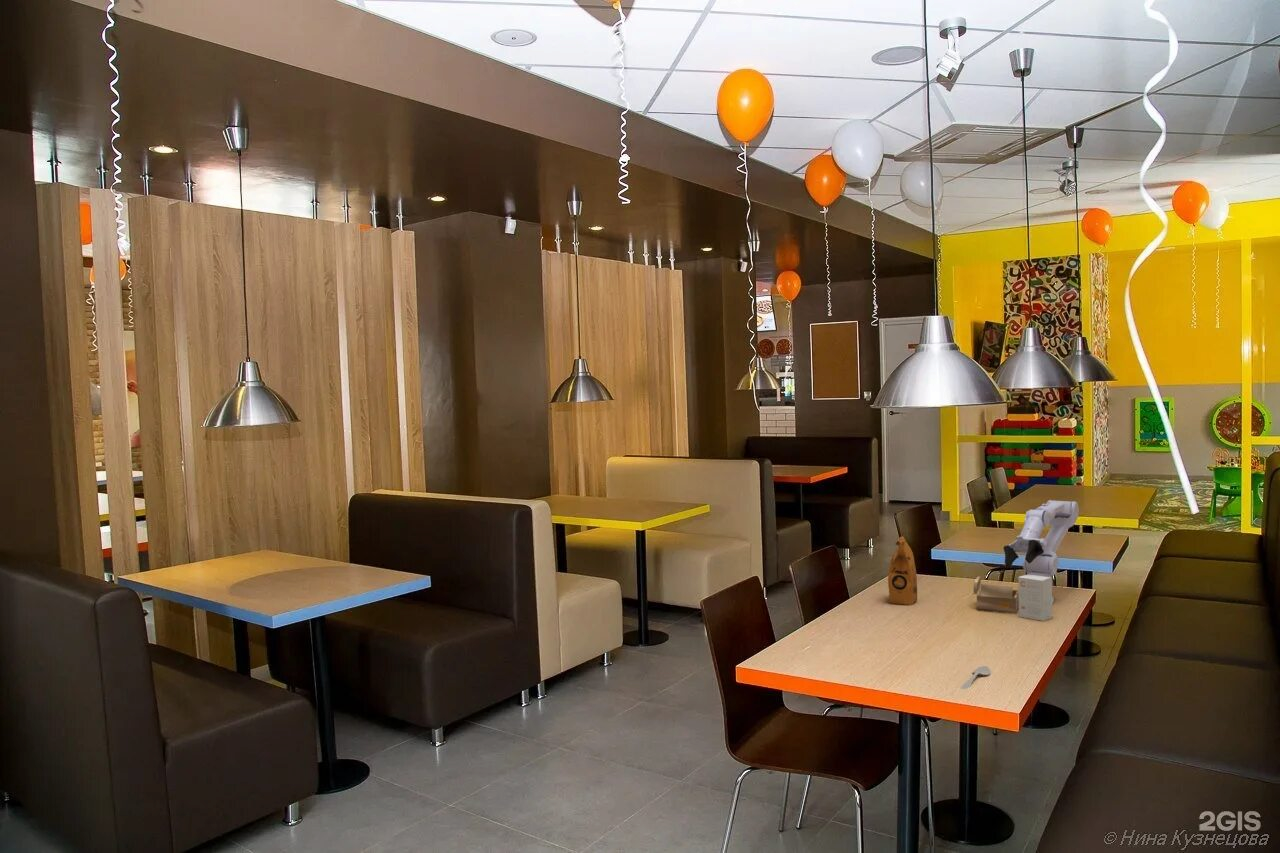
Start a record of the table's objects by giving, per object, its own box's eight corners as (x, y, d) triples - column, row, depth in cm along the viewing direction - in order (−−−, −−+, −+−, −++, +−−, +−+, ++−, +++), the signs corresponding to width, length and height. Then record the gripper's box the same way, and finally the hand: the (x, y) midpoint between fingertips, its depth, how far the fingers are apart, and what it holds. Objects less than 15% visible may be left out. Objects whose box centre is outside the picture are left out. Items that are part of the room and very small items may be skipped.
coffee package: (884, 604, 302) (883, 541, 301) (891, 596, 313) (890, 535, 312) (914, 606, 297) (913, 542, 296) (920, 598, 308) (918, 536, 308)
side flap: (981, 576, 299) (977, 576, 299) (977, 582, 291) (974, 582, 291) (980, 588, 299) (977, 587, 300) (976, 594, 291) (973, 593, 291)
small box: (1052, 617, 277) (1052, 577, 277) (1043, 621, 273) (1042, 580, 273) (1027, 613, 284) (1027, 573, 283) (1018, 617, 280) (1017, 576, 279)
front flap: (981, 583, 289) (980, 583, 288) (1012, 585, 284) (1012, 586, 283) (981, 595, 289) (980, 596, 288) (1012, 598, 284) (1012, 598, 283)
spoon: (994, 673, 227) (994, 667, 227) (967, 695, 211) (967, 689, 211) (977, 670, 230) (977, 664, 230) (950, 692, 214) (950, 685, 214)
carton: (981, 602, 300) (981, 587, 300) (1019, 605, 295) (1019, 590, 294) (976, 610, 290) (976, 595, 289) (1016, 613, 284) (1015, 598, 284)
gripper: (1004, 531, 297) (991, 557, 289) (1042, 522, 286) (1030, 550, 278) (1015, 546, 298) (1003, 573, 290) (1054, 538, 287) (1042, 566, 279)
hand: (1017, 563), depth 284 cm, fingers open, 7 cm apart
